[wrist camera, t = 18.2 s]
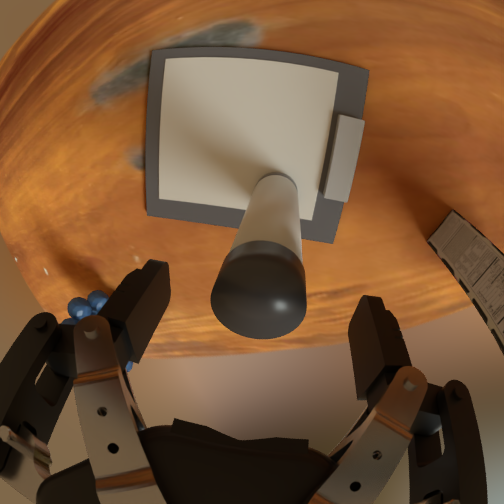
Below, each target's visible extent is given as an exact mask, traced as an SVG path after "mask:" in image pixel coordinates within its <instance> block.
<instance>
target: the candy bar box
mask: <svg viewBox="0 0 504 504" xmlns="http://www.w3.org/2000/svg"><path fill="white" fill-rule="evenodd" d="M427 243H428V244H429V245H430V247H431V248H432V249H433V250H434V251H435V253H436V254H437V255H438V257H439V258H440V259H441V260H442V262H443V263H444V264H445V265H446V267H447V268H448V269H449V271H450V272H451V273H452V275H453V276H454V277H455V279H456V280H457V281H458V283H459V284H460V285H461V287H462V288H463V290H464V291H465V293H466V294H467V295H468V297H469V298H470V300H471V301H472V303H473V304H474V306H475V307H476V309H477V310H478V312H479V314H480V315H481V317H482V318H483V320H484V322H485V323H486V325H487V326H488V328H489V329H490V331H491V333H492V334H493V336H494V338H495V339H496V341H497V343H498V345H499V347H500V349H501V351H502V353H503V354H504V254H503V253H502V252H501V251H500V250H499V249H498V248H497V247H496V246H495V245H494V244H493V243H492V242H491V241H490V240H489V239H488V238H486V237H485V236H484V235H483V234H482V233H481V232H480V231H479V230H477V229H476V228H475V227H474V226H473V225H472V224H471V223H469V222H468V221H467V220H466V219H465V218H463V217H462V216H461V215H460V214H459V213H457V212H456V211H455V210H452V211H451V212H450V213H449V214H448V215H447V217H446V218H445V219H444V221H443V222H442V224H441V225H440V226H439V227H438V229H437V230H436V231H435V232H434V233H433V234H432V236H431V237H430V238H429V239H428V240H427Z"/></svg>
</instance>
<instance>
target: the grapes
mask: <svg viewBox="0 0 504 504" xmlns="http://www.w3.org/2000/svg"><path fill="white" fill-rule="evenodd" d="M108 299H109V297H108V295H107V294H106V293H104V292H103V291H100V290H96V291H92V292H91V293H90V294H89V295H88V298H87V300H86V299H84V298H81V297H76V298H73V299H72V300H71V301H70V302H69V303H68V313H69V315H70V316H71V317H72V318H68V319H65V320H64V321H63V322H62V323H61V324H71V325H76V324H77V322H78V321H79V320H81V319H82V318H84V317H86V316H90V315H97V314H98V312H99V311H100V310H101V308H102V307H103V306H104V304H105V303H106V301H107V300H108ZM132 365H133V362H132V361H129V362H128V364H127V366H126V370H127V372H129V371H130V370H131V369H132Z"/></svg>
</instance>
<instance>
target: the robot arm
mask: <svg viewBox="0 0 504 504" xmlns="http://www.w3.org/2000/svg"><path fill="white" fill-rule="evenodd" d="M170 296H171V288H170V276H169V265H168V263H167V262H163V261H158V260H153V259H150V260H148V261H147V263H146V264H145V265H144V267H143V268H142V269H136V270H134V271H132V272H131V273H129V274H128V275H127V276H126V277H125V278H124V279H123V281H122V282H121V284H119V286H118V287H117V288H116V291H114V292H113V294H112V295H111V296H110V297H109V299H108V300H107V301H106V303H105V304H104V306H103V307H102V308H101V310H100V311H99V312H98V314H97V315H90V316H86V317H84V318H82V319H81V320H79V321H78V322H77V324H76V325H71V324H58V322H57V320H56V318H55V316H54V315H53V314H51V313H48V312H43V313H39V314H37V315H35V316H34V317H33V318H32V319H31V320H30V321H29V322H28V323H27V325H26V326H25V328H24V329H23V330H22V332H21V333H20V335H19V336H18V337H17V339H16V340H15V342H14V343H13V345H12V346H11V348H10V349H9V351H8V352H7V354H6V355H5V357H4V358H3V360H2V362H1V363H0V478H2V479H3V480H4V481H5V482H7V483H8V484H9V485H10V486H12V487H13V488H14V489H15V490H17V491H18V492H19V493H21V494H22V495H23V496H25V497H26V498H27V499H29V500H30V501H32V502H33V503H35V504H373V503H374V501H375V500H376V498H377V497H378V496H379V494H380V493H381V491H382V490H383V488H384V487H385V485H386V484H387V482H388V480H389V479H390V477H391V475H392V474H393V472H394V471H395V469H396V467H397V465H398V464H399V462H400V460H401V458H402V457H403V455H404V453H405V451H406V449H407V447H408V455H409V479H410V504H488V500H487V482H486V472H485V464H484V457H483V450H482V444H481V439H480V434H479V429H478V424H477V420H476V416H475V411H474V408H473V404H472V400H471V396H470V393H469V391H468V389H467V387H466V386H465V385H464V384H463V383H462V382H460V381H458V380H451V381H449V382H448V383H447V384H446V385H445V386H444V387H440V386H437V385H433V384H430V383H427V379H426V377H425V375H424V374H423V373H422V372H421V371H420V370H419V369H417V368H415V367H412V364H411V361H410V357H409V354H408V351H407V348H406V345H405V342H404V339H403V336H402V333H401V331H400V327H399V324H398V322H397V319H396V318H395V317H394V315H393V314H392V313H391V312H390V310H386V309H385V306H384V304H383V301H382V299H381V297H375V296H368V295H363V296H362V297H361V299H360V301H359V304H358V306H357V308H356V310H355V312H354V314H353V317H352V319H351V321H350V324H349V328H348V337H349V343H350V350H351V356H352V363H353V370H354V377H355V385H356V393H357V399H358V400H367V403H368V406H367V407H366V408H365V409H364V411H363V412H362V414H361V415H360V416H359V418H358V419H357V421H356V422H355V423H354V425H353V426H352V427H351V429H350V430H349V431H348V433H347V434H346V435H345V437H344V438H343V439H342V440H341V442H340V443H339V444H338V445H337V446H336V447H335V448H334V449H333V450H332V451H331V452H330V453H329V454H328V455H325V454H323V453H322V452H320V451H318V450H315V449H313V448H309V447H308V441H309V440H306V439H290V438H277V437H275V438H266V439H256V440H243V441H242V440H237V439H235V438H232V437H230V436H227V435H225V434H222V433H220V432H218V431H216V430H214V429H212V428H209V427H207V426H203V425H199V424H195V423H191V422H187V421H183V420H179V419H176V418H174V421H173V424H172V425H161V426H154V427H150V428H147V427H146V424H145V422H144V419H143V417H142V415H141V413H140V410H139V408H138V405H137V402H136V400H135V396H134V393H133V390H132V387H131V383H130V380H129V377H128V373H127V370H126V366H127V364H128V362H129V361H132V362H135V363H139V361H140V359H141V357H142V355H143V353H144V351H145V349H146V347H147V345H148V343H149V341H150V339H151V337H152V335H153V333H154V331H155V330H156V328H157V326H158V324H159V322H160V320H161V318H162V316H163V314H164V312H165V310H166V308H167V306H168V304H169V301H170ZM45 362H46V364H47V365H46V367H45V368H44V370H43V372H42V374H41V376H40V378H39V379H38V381H37V383H36V385H35V380H36V377H37V376H38V374H39V373H40V371H41V369H42V367H43V365H44V364H45ZM72 387H74V393H75V400H76V405H77V411H78V416H79V420H80V425H81V430H82V434H83V438H84V442H85V446H86V449H87V453H88V457H89V458H88V459H86V460H84V461H82V462H80V463H78V464H76V465H73V466H71V467H69V468H67V469H64V470H62V471H60V472H58V473H55V474H53V475H51V474H50V470H49V467H51V465H52V459H51V457H50V451H49V449H48V447H47V444H48V442H49V439H50V437H51V434H52V432H53V429H54V427H55V425H56V422H57V420H58V418H59V415H60V413H61V411H62V409H63V407H64V404H65V402H66V400H67V398H68V396H69V394H70V392H71V389H72ZM441 428H442V431H443V438H444V445H445V449H444V453H443V455H442V452H441V444H440V437H439V429H441Z"/></svg>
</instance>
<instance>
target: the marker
mask: <svg viewBox="0 0 504 504" xmlns="http://www.w3.org/2000/svg"><path fill="white" fill-rule="evenodd" d="M211 307H212V310H213V312H214V314H215V316H216V317H217V319H218V320H219V321H220V322H221V323H222V324H223V325H224V326H225V327H226V328H228V329H229V330H231V331H233V332H235V333H237V334H239V335H241V336H245V337H248V338H254V339H272V338H277V337H281V336H284V335H286V334H288V333H290V332H291V331H293V330H294V329H296V328H297V327H298V326H299V325H300V324H301V322H302V321H303V319H304V317H305V314H306V308H307V302H306V280H305V270H304V267H303V264H302V245H301V229H300V215H299V201H298V190H297V186H296V184H295V182H294V181H293V179H292V178H291V177H289V176H288V175H286V174H284V173H280V172H271V173H268V174H265V175H264V176H262V177H261V178H260V179H259V181H258V182H257V184H256V186H255V189H254V191H253V194H252V196H251V199H250V201H249V204H248V206H247V209H246V211H245V214H244V216H243V219H242V222H241V224H240V227H239V229H238V232H237V234H236V237H235V239H234V242H233V245H232V247H231V250H230V252H229V254H228V255H227V256H226V258H225V260H224V262H223V264H222V267H221V269H220V272H219V274H218V277H217V279H216V282H215V284H214V287H213V290H212V293H211Z"/></svg>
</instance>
